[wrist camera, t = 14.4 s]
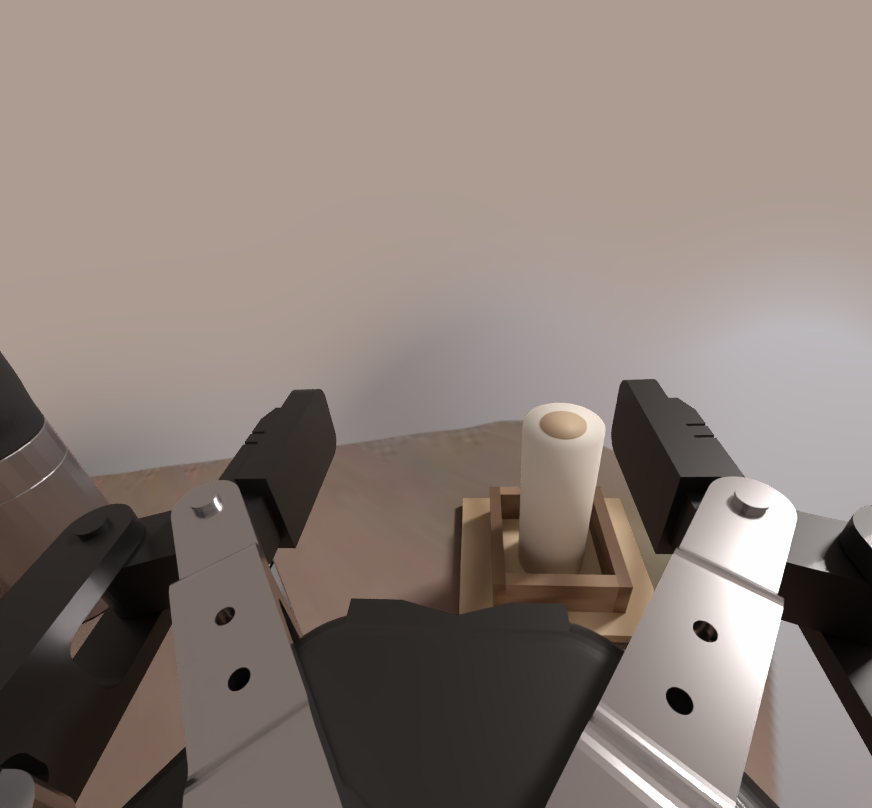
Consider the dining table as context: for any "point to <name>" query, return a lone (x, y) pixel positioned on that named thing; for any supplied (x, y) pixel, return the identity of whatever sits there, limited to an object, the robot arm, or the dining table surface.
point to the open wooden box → (582, 593)
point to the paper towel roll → (557, 486)
